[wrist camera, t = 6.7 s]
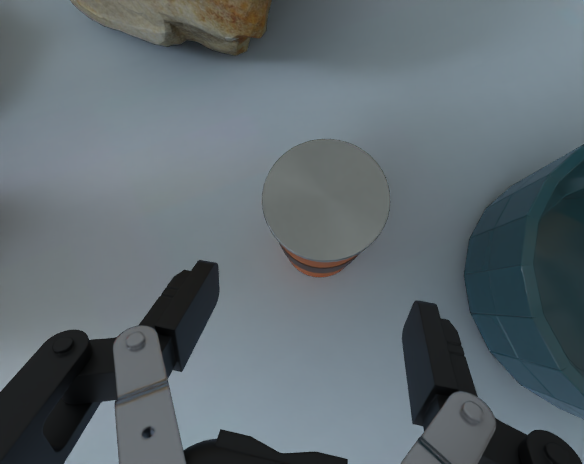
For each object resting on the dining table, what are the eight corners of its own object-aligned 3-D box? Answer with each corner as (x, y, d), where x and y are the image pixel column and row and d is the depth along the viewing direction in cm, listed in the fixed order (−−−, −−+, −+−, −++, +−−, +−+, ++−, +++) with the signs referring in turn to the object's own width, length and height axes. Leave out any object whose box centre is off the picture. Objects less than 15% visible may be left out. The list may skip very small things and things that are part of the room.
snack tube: (268, 238, 23) (236, 190, 13) (323, 193, 23) (331, 115, 14) (315, 294, 22) (318, 288, 12) (371, 246, 22) (418, 204, 13)
